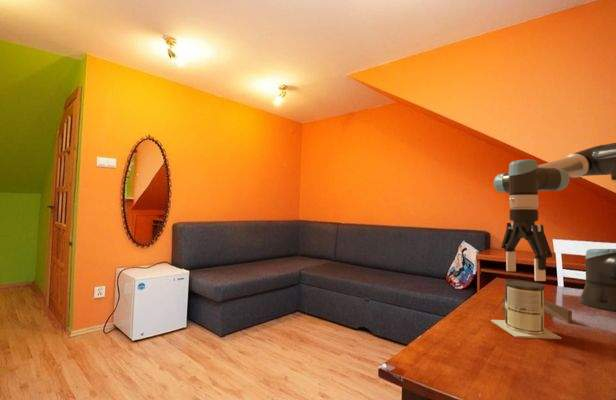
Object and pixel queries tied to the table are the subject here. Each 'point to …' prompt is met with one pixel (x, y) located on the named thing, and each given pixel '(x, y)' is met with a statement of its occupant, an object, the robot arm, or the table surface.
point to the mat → (546, 333)
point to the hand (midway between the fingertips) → (524, 275)
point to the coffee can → (524, 306)
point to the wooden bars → (553, 311)
